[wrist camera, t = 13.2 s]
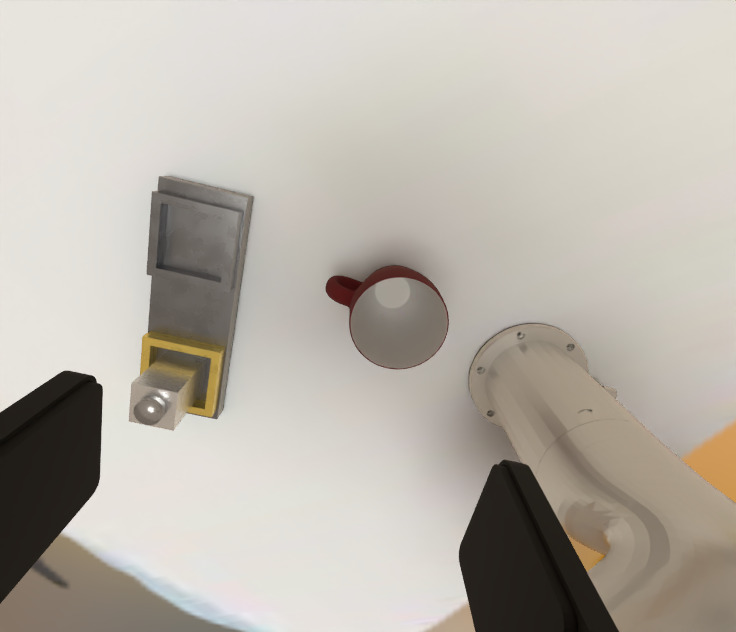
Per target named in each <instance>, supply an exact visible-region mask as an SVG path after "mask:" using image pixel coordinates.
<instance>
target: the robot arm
mask: <svg viewBox="0 0 736 632" xmlns="http://www.w3.org/2000/svg"><path fill="white" fill-rule="evenodd" d="M519 332H520V334H518V333H519ZM517 334H518V335H517ZM479 367H481V368H479ZM478 368H479V369H478ZM469 388H470V392H471V396H472V398H473V401H474V403H475V405H476V407H477V408H478V410H479V411H480V413H481V414H482V415H483V416H484V417H485V418H486V419H488V420H489V421H491V422H492V423H494V424H496V425H498V426H500V427H503V428H504V430H505V432H506V434H507V436H508V437H509V439H510V441H511V443H512V445H513V447H514V449H515V451H516V453H517V455H518V457H519V459H520V460H521V462H522V463H518V462H513V461H508V460H503V461H502V462H500V464H499V465H497V464H495V465H494V466H493V467H492V469H491V471H490V474H489V476H488V479H487V481H486V484H485V486H484V488H483V491H482V493H481V496H480V498H479V501H478V503H477V506H476V508H475V511H474V513H473V515H472V518H471V520H470V523H469V525H468V528H467V530H466V533H465V535H464V537H463V540H462V542H461V545H460V549H459V562H460V567H461V571H462V575H463V580H464V584H465V588H466V592H467V597H468V601H469V605H470V610H471V614H472V618H473V623H474V627H475V631H476V632H736V503H735V502H734V501H732V500H731V499H730V498H728V497H727V496H726V495H724V494H723V493H722V492H720V491H719V490H718V489H716V488H715V487H714V486H712V485H711V484H710V483H708V482H707V481H706V480H705V479H703V478H702V477H701V476H699V474H697V473H696V472H695V471H694V470H693V469H691V468H690V467H689V466H688V465H687V464H686V463H685V462H683V461H682V460H681V459H680V458H679V457H678V456H677V455H675V454H674V453H673V452H672V451H671V450H670V449H669V448H668V447H666V446H665V445H664V444H663V443H662V442H661V441H660V440H659V439H658V438H657V437H656V436H655V435H653V434H652V433H651V432H650V431H649V430H648V429H647V428H646V427H645V426H644V425H643V424H642V423H640V422H639V421H638V420H637V419H636V418H635V417H634V416H633V415H632V414H631V413H630V412H629V411H628V410H626V409H625V408H624V407H623V406H622V405H621V404H620V403H619V402H618V401H617V400H616V396H617V392H616V390H615V389H614V388H610V387H605V386H601V385H600V384H599V383H597V382H596V381H595V380H594V379H593V378H592V377H591V376H590V375H589V374H588V365H587V360H586V357H585V355H584V352H583V350H582V349H581V348H580V346H579V345H578V343H577V342H576V341H575V340H573V339H572V338H571V337H570V336H569V335H567V334H566V333H565V332H563V331H562V330H559V329H557V328H555V327H552V326H548V325H544V324H525V325H518V326H515V327H512V328H509V329H507V330H505V331H503V332H501V333H499V334H497V335H496V336H494V337H493V338H492V339H490V340H489V341H488V342H487V343H486V344H485V345H484V346H483V347H482V348H481V350H480V351H479V353H478V354H477V356H476V357H475V359H474V361H473V364H472V366H471V370H470V375H469ZM102 396H103V389H102V385H101V384H98V383H97V382H96V379H95V377H94V376H92V375H87V374H82V373H77V372H72V371H63V372H61V373H59V374H58V375H56V376H55V377H53V378H52V379H50V380H49V381H47V382H46V383H44V384H43V385H41V386H40V387H38V388H37V389H35V390H34V391H32V392H31V393H29V394H28V395H26V396H25V397H23V398H22V399H20V400H19V401H17V402H15V403H14V404H12V405H11V406H9V407H8V408H6V409H5V410H3V411H2V412H0V603H1V602H2V601H3V600H4V599H5V597H6V596H7V595H8V594H9V593H10V591H11V590H12V589H13V588H14V587H15V586H16V584H17V583H18V582H19V581H20V580H21V579H22V577H23V576H24V575H25V574H26V573H27V572H28V570H29V569H30V568H31V567H32V566H33V564H34V563H35V562H36V561H37V560H38V559H39V557H40V556H41V555H42V554H43V553H44V551H45V550H46V549H47V548H48V547H49V546H50V544H51V543H52V542H53V541H54V540H55V538H56V537H57V536H58V535H59V534H60V533H61V531H62V530H63V529H64V528H65V527H66V526H67V524H68V523H69V522H70V521H71V520H72V518H73V517H74V516H75V515H76V514H77V513H78V511H79V510H80V509H81V508H82V507H83V506H84V504H85V503H86V502H87V501H88V500H89V498H90V497H91V496H92V495H93V493H94V492H95V490H96V488H97V486H98V483H99V479H100V457H101V426H102ZM566 534H568V535H569V536H570V537H571V538H573V539H574V540H576V541H577V542H579V543H581V544H582V545H584V546H586V547H588V548H590V549H592V550H594V551H597V552H599V553H601V554H604V555H606V556H605V557H604V558H603V559H602V560H601V561H600V562H598V563H597V564H596V565H595V566H594V567H593V568H592V569H590V570H589V571H588V572H586V570H585V568H584V566H583V564H582V562H581V561H580V559H579V557H578V555H577V553H576V552H575V549H574V548H573V546H572V544H571V542H570V540H569V538H568V536H567V535H566Z"/></svg>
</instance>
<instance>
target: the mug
mask: <svg viewBox="0 0 736 632" xmlns="http://www.w3.org/2000/svg"><path fill="white" fill-rule="evenodd" d="M326 293H327V294H328V296H329V297H330V298H331V299H333V300H334V301H336V302H338V303H340V304H342V305H345V306H348V307H349V308H350V318H349V327H350V333H351V337H352V340H353V342H354V344H355V346H356V348H357V349H358V350H359V352H360V353H361V354H362V355H363V356H364V357H365V358H366V359H368V360H369V361H371V362H372V363H374V364H376V365H378V366H381V367H385V368H389V369H407V368H411V367H415V366H417V365H420V364H422V363H424V362H425V361H427V360H428V359H430V358H431V357H432V356H433V355H434V354H435V353H436V352H437V351H438V350H439V349H440V347H441V346H442V344H443V342H444V340H445V338H446V335H447V331H448V325H449V319H448V312H447V308H446V305H445V303H444V301H443V298H442V297H441V295H440V293H439V291H438V290H437V288H436V287H435V286H434V285H433V283H432V282H431V281H430V280H429V279H427V278H426V277H425V276H423V275H422V274H420V273H418V272H416V271H414V270H411V269H409V268H406V267H403V266H387V267H383V268H381V269H378V270H377V271H375V272H374V273H372V274H371V275H370V276H369V277H368V278H367V279H366V280H365V281H364V282H360V281H357V280H354V279H351V278H348V277H345V276H333V277H331V278H330V279H329V280H328V281H327V284H326Z"/></svg>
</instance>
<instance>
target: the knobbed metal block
mask: <svg viewBox="0 0 736 632" xmlns="http://www.w3.org/2000/svg"><path fill="white" fill-rule="evenodd" d="M206 361H207V359H205V358H201V357H196V356H192V355H187V354H183V353H178V352H174V351H169V350H168V351H167V352H165V353H164V354H163V355H162V356H161V357H160V358H159V359H158V360H157V361H155V362H154V363H153V364H152V365H151V366H150V367H149V368H148V369H147V370H145V371H144V372H143V373H142V374H141V375H140V376H139V377H138V378H137V379H135V380H134V381H133V382H132V385H131V399H130V413H129V421H130V422H135V423H140V424H144V425H149V426H154V427H159V428H164V429H169V430H173V431H174V429H175V428H176V427H177V425H178V424H179V423H180V421H181V420H182V418H183V417H184V416H185V414H186V413H187V412H188V410H189V409H190V408H191V406H192V405H193V404H194V402H195V401H196V400H197V398H198V397H199V396H200V394H201V393H202V391H203V384H204V376H205V369H206Z"/></svg>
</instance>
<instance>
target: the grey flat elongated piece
mask: <svg viewBox="0 0 736 632" xmlns="http://www.w3.org/2000/svg"><path fill="white" fill-rule="evenodd" d="M252 203H253V196H249V195H245V194H240V193H236V192H232V191H228V190H224V189H220V188H216V187H212V186H207V185H203V184H199V183H195V182H191V181H187V180H183V179H179V178H174V177H170V176H159V182H158V191H152V200H151V215H150V230H149V246H148V261H147V275H152V282H151V297H150V311H149V325H148V333H147V334H145V335H144V336H143V338H142V353H141V369H140V375H141V374H142V373H143V372H144V371H145V370H147V369H148V368H149V367H150V366H151V365H152V364H153V363H154V362H155V361H157V360H158V359H159V358H160V357H161V356H162V355H163V354H164V353H165V352H167V351H168V350H169V351H174V352H178V353H183V354H187V355H192V356H196V357H201V358H205V359H207V361H206V369H205V376H204V384H203V391H202V393H201V394H200V396H199V397H198V398H197V400H196V401H195V402H194V404H193V405H192V406H191V408H190V409H189V410H188V412H187V413H189V414H194V415H199V416H203V417H208V418H213V419H218V417H219V415H220V414H221V412H222V410H223V407H224V400H225V392H226V385H227V378H228V371H229V364H230V357H231V350H232V343H233V336H234V329H235V322H236V315H237V308H238V301H239V294H240V287H241V280H242V273H243V266H244V259H245V252H246V245H247V238H248V231H249V224H250V217H251V210H252Z"/></svg>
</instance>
